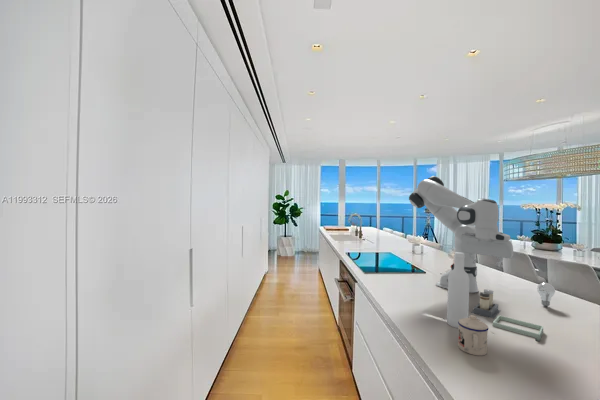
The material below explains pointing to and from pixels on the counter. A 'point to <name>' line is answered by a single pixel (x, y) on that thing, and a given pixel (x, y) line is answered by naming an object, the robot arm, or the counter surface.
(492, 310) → the fuse block
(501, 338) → the counter surface
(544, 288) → the light bulb
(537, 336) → the parts tray
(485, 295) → the fuse
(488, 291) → the fuse
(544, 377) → the counter surface
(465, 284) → the bottle
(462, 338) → the teacup with lid
